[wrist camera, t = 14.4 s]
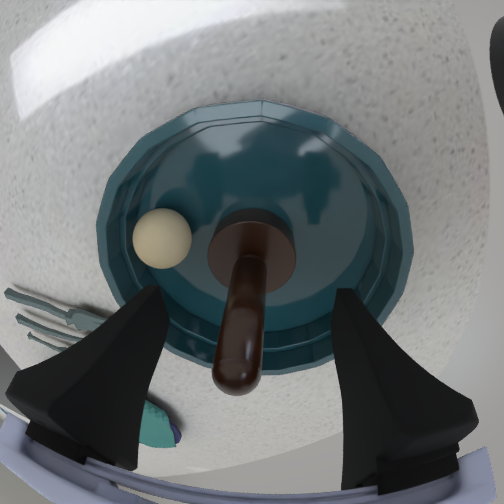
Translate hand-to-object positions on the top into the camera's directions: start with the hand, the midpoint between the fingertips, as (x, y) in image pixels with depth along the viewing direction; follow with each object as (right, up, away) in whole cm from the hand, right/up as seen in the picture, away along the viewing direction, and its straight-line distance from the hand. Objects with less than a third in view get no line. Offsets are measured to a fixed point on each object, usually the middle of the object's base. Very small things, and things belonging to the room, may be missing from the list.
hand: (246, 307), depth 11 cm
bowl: (0, +3, +4) cm, 5 cm away
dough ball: (-4, +3, +2) cm, 6 cm away
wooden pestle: (0, +3, +4) cm, 5 cm away
